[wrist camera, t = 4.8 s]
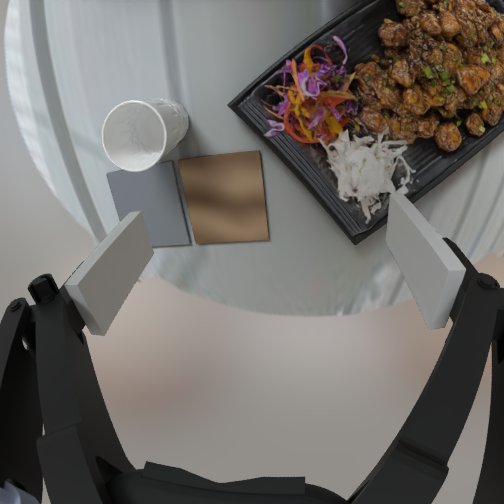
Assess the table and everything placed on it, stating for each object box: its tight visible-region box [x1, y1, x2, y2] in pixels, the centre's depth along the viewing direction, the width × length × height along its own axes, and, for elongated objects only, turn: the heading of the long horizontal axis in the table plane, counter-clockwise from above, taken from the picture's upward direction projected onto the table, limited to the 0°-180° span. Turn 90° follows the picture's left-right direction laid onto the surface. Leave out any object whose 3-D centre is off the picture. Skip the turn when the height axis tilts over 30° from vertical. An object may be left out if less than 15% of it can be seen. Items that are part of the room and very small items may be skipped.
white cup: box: [102, 99, 189, 172], centre depth 31 cm, size 8×8×10 cm
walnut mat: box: [178, 150, 269, 244], centre depth 41 cm, size 13×11×1 cm
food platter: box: [227, 0, 504, 245], centre depth 25 cm, size 45×25×10 cm, turn 134°
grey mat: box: [106, 161, 191, 247], centre depth 42 cm, size 13×11×1 cm
